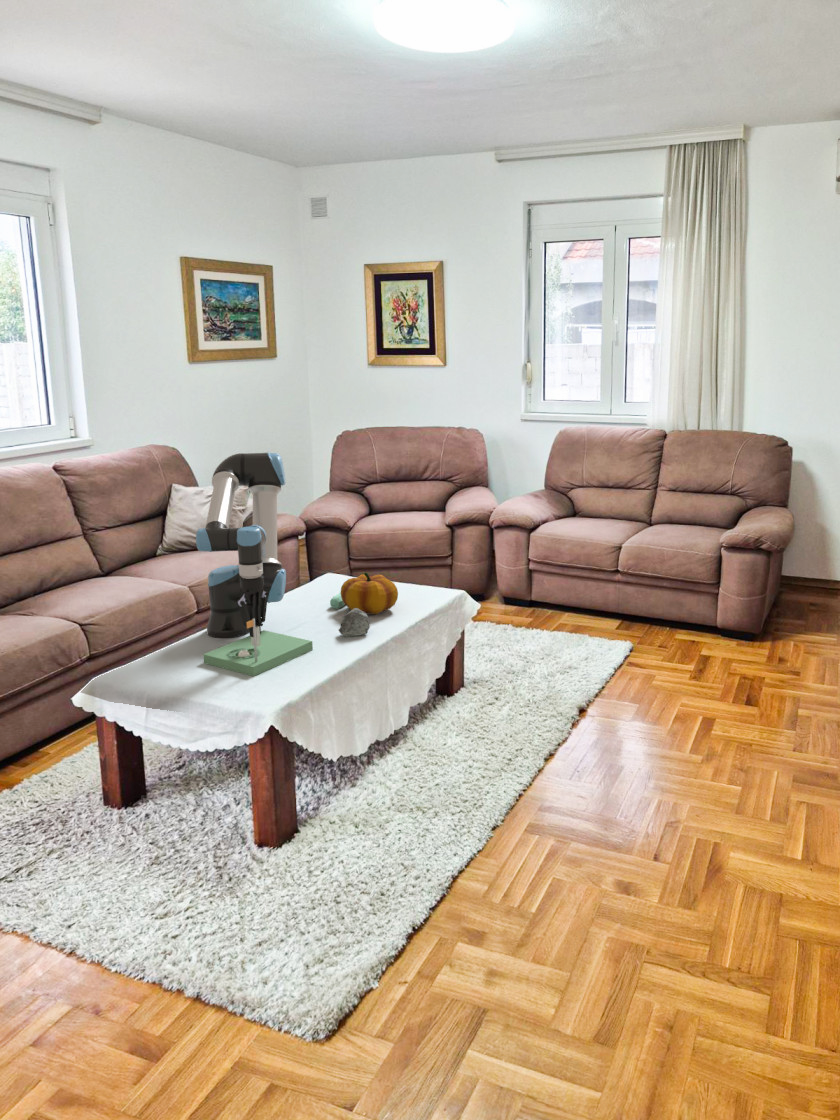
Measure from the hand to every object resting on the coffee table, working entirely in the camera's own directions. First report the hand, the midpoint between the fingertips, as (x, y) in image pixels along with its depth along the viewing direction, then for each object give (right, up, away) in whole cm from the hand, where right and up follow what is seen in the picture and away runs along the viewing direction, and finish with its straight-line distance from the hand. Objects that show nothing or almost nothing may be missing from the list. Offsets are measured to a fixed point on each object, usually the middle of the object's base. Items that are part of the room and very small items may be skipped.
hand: (256, 645), depth 298 cm
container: (+26, +11, +62) cm, 68 cm away
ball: (-3, -3, -4) cm, 6 cm away
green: (0, -4, +1) cm, 4 cm away
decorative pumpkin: (+34, +8, +49) cm, 60 cm away
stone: (+31, +2, +23) cm, 39 cm away
